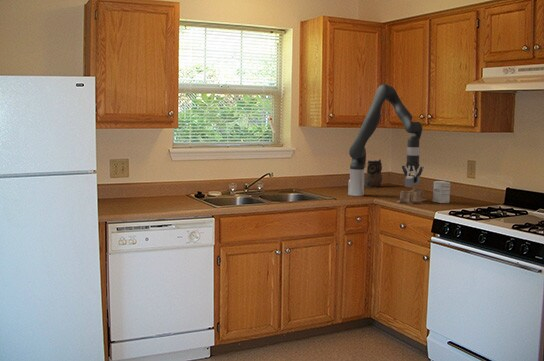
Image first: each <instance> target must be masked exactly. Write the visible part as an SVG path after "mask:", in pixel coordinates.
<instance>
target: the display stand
mask: <svg viewBox="0 0 544 361" xmlns="http://www.w3.org/2000/svg"><path fill="white" fill-rule="evenodd" d="M423 197H424V190H423V188H414V187H413V188H412V190H409V191H407V190H401V191H400V193H399V200H396V203H398V204H406V205H414V203H415V204H418V203H422V202H425V201H426V200H427V199H426V198H423Z"/></svg>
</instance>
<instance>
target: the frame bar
mask: <svg viewBox="0 0 544 361" xmlns="http://www.w3.org/2000/svg"><path fill="white" fill-rule="evenodd" d="M414 177H415V176H414V173H411V175H410V176H406V177H405V178H404V187H405V188H412V187H414V186H417V185H419V184H420V183H421V175H420V176H418V181H417V183H414Z"/></svg>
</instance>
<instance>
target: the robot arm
mask: <svg viewBox="0 0 544 361" xmlns="http://www.w3.org/2000/svg"><path fill="white" fill-rule="evenodd" d="M385 101H388V102H389V103H390V104H391V105H392V107H393V109H394V113H395V114H396V115H397V117H398V118H399V120H400V121H401V122H402V125H403V128H404V130H405V131H406V132H407V133H408V134H411V136H409V137H408V138H407V144H406V145H407V148H406V164H405V165H402V166H401V168H402V172H403V175H404V176H406V177H407V176H412V172H413V174H414V176H415V177H414V183H417V181H418V176H420V177H421V175H422V173H423V171H424V166H421V165H420V139H421V136H422V134H423V125H422V123H421V122H420V121H412V120H413V115H412V113H410V111H409V109H408V108H407V107H406V105H404V103H403V102H402V100H401V99H400V97H399V95H398V93H397V91H396V89H395V87H394V86H392V85H388V84H384V83H383V84H380V85H379V86H378V88H377V89H376V92H375V94H374V98H373V100H372V103H371V105H370V107H369V109H368V112H367V113H366V115H365V118H364V120H363V122H362V124H361V126H360V129H359V132H358V134H357V135H356V137H355V139H354V141H353V143H352V144H351V146H350V147H349V150H348V151H349V152H348V154H349V157H350V158H351V163H350V165H349V180H348V185H347V186H348V188H347V189H348V190H347V194H348V196H355V197H362V196H363V197H364V195H365V193H364V192H365V191H364V190H365V189H364V188H365V166H366V161H367V160H366V158H367V157H366V156H367V151H366V147H365V146H366V145H367V142H368V141H369V139H370V138H371V137H372V135H373V134H374V133H375V131H376V130H377V128H378V125H379V123H380V121H381V112H382V111H381V110H382V107H383V104H384V102H385Z"/></svg>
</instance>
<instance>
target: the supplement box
mask: <svg viewBox="0 0 544 361" xmlns="http://www.w3.org/2000/svg"><path fill="white" fill-rule="evenodd" d="M432 190H433V192H432V202H434V203H438V204H449V203H450V197H451V196H450V194H451V182H449V181H444V180H435V181H433V189H432Z"/></svg>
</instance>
